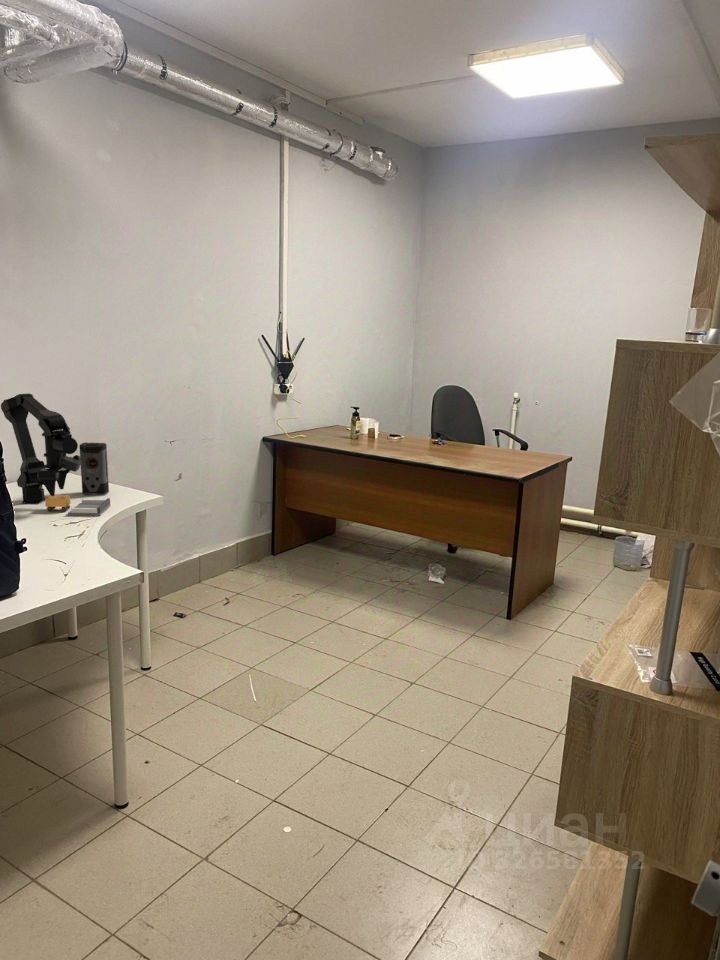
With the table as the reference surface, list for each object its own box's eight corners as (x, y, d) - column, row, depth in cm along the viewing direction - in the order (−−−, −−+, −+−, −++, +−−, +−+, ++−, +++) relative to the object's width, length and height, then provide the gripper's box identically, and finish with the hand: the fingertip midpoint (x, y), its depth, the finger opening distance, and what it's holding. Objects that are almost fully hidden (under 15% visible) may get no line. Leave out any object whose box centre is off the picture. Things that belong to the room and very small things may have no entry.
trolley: (46, 512, 245) (45, 498, 244) (51, 508, 250) (50, 495, 248) (66, 512, 246) (65, 498, 244) (70, 508, 250) (70, 495, 249)
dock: (68, 515, 242) (67, 507, 241) (80, 505, 254) (79, 497, 254) (100, 516, 243) (99, 507, 242) (110, 506, 255) (110, 498, 254)
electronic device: (81, 495, 268) (78, 444, 264) (86, 491, 274) (83, 442, 269) (105, 495, 269) (102, 445, 264) (110, 491, 274) (107, 442, 270)
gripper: (68, 455, 234) (71, 499, 238) (86, 445, 252) (88, 486, 256) (35, 455, 233) (38, 499, 237) (54, 444, 251) (57, 485, 255)
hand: (57, 492), depth 246 cm, fingers open, 9 cm apart
